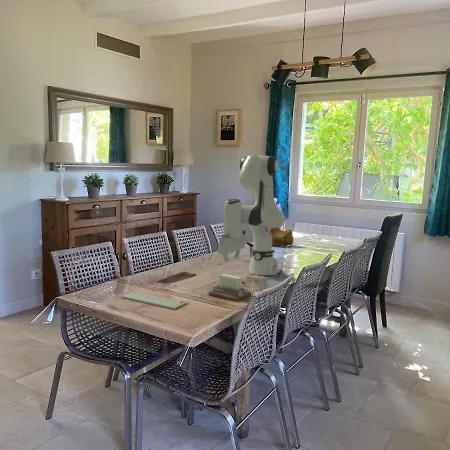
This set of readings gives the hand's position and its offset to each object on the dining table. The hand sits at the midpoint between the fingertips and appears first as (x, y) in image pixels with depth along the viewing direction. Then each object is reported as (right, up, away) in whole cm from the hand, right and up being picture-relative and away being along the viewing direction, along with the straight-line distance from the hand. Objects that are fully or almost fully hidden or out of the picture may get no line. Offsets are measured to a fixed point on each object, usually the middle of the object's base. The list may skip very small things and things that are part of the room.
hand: (231, 260), depth 219 cm
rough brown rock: (+39, 0, +140) cm, 145 cm away
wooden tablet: (-31, -13, +31) cm, 46 cm away
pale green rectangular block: (-1, -16, +2) cm, 16 cm away
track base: (-1, -18, +2) cm, 18 cm away
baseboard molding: (-36, -19, -10) cm, 42 cm away
